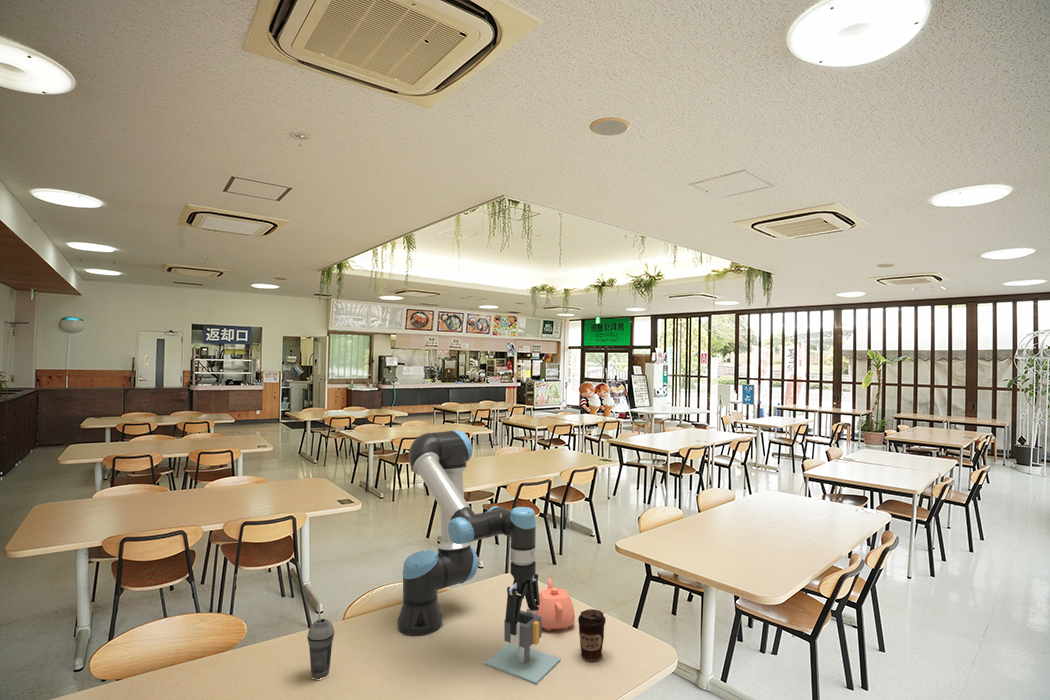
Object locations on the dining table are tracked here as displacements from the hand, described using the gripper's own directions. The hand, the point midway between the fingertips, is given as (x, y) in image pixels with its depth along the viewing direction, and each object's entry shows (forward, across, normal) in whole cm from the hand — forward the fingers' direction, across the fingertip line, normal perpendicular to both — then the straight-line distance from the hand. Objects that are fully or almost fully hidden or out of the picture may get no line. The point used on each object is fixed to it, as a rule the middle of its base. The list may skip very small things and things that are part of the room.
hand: (523, 638), depth 155 cm
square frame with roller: (0, 0, 0) cm, 0 cm away
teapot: (+7, +26, +4) cm, 27 cm away
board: (+7, 0, 0) cm, 7 cm away
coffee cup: (+8, +14, -16) cm, 22 cm away
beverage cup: (+7, -37, +45) cm, 59 cm away
